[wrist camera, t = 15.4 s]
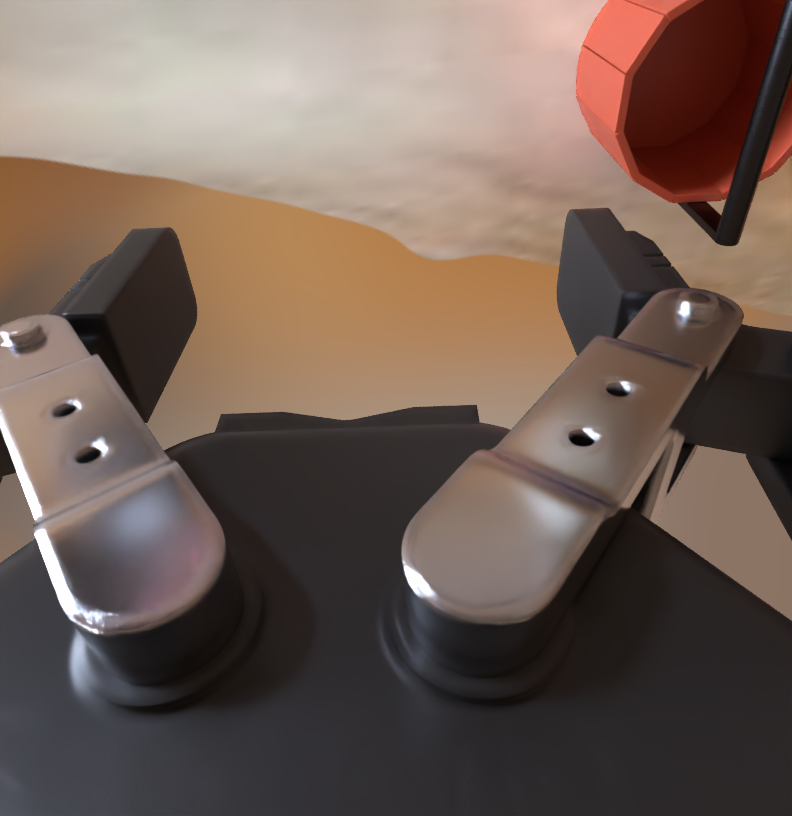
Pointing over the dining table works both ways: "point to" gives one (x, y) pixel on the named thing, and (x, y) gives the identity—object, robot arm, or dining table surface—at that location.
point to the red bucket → (692, 99)
